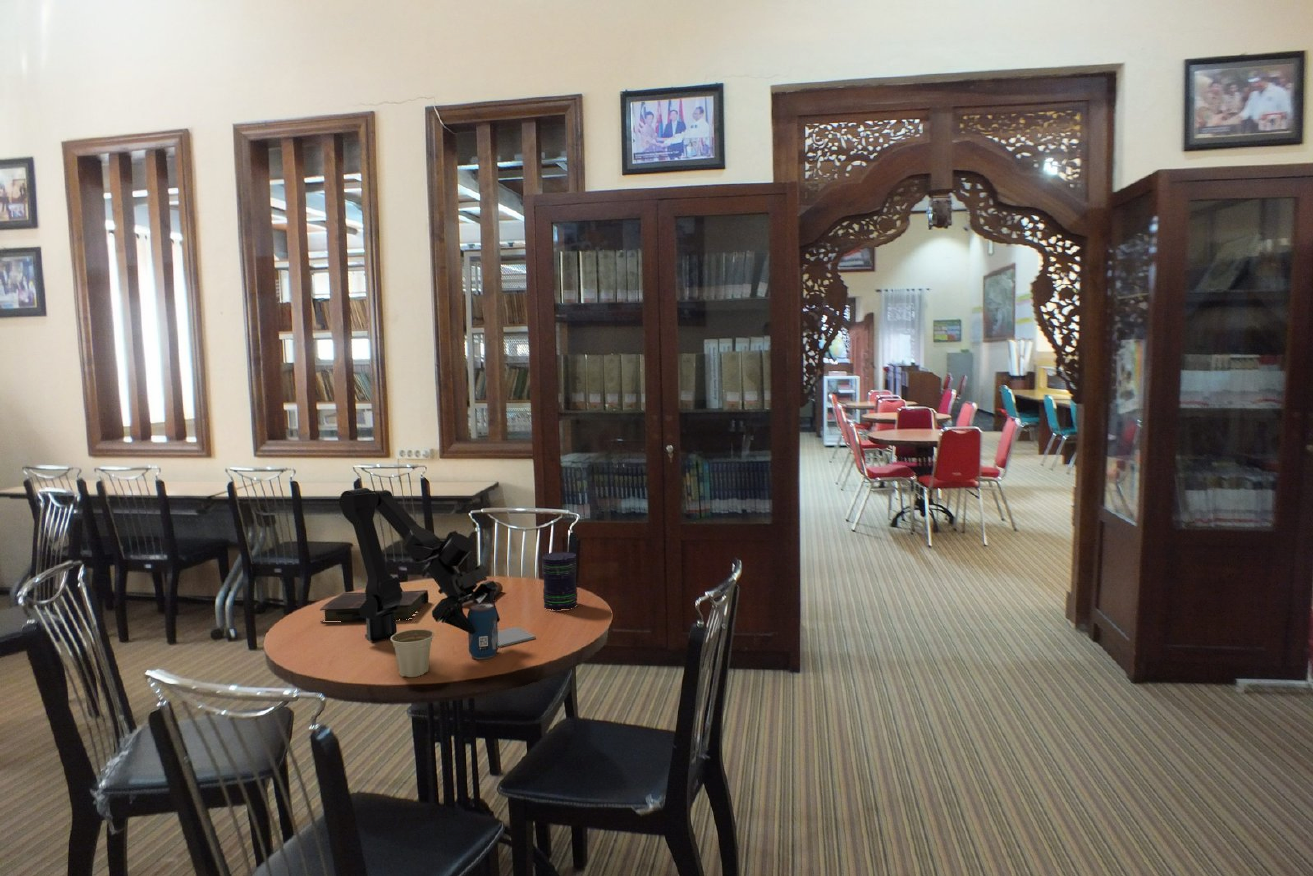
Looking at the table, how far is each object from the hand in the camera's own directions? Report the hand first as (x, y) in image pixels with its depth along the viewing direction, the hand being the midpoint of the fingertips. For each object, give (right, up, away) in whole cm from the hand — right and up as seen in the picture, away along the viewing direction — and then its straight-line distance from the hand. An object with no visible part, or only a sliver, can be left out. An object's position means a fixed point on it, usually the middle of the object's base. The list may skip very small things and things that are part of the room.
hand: (486, 627), depth 183 cm
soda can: (-1, -7, +1) cm, 7 cm away
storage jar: (+13, -4, +39) cm, 41 cm away
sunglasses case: (-13, -4, +48) cm, 49 cm away
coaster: (+3, -6, +13) cm, 14 cm away
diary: (-40, -6, +38) cm, 55 cm away
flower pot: (-14, -8, -9) cm, 19 cm away
